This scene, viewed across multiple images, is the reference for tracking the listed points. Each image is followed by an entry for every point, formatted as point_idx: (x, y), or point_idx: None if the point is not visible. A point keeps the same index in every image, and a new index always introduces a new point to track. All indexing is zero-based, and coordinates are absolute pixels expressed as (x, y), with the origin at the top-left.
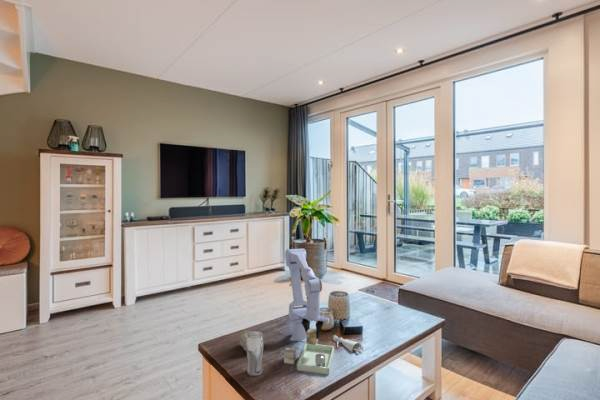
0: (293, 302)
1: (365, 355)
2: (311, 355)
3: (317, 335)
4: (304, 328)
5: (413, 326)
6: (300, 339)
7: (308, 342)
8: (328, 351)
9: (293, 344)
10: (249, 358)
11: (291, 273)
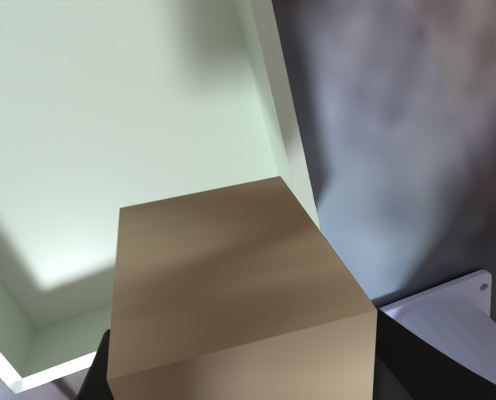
0: None
1: None
2: (194, 161)
3: (94, 379)
4: (487, 381)
5: None
6: (408, 318)
7: (247, 191)
8: (79, 315)
9: (438, 240)
10: None
11: None
